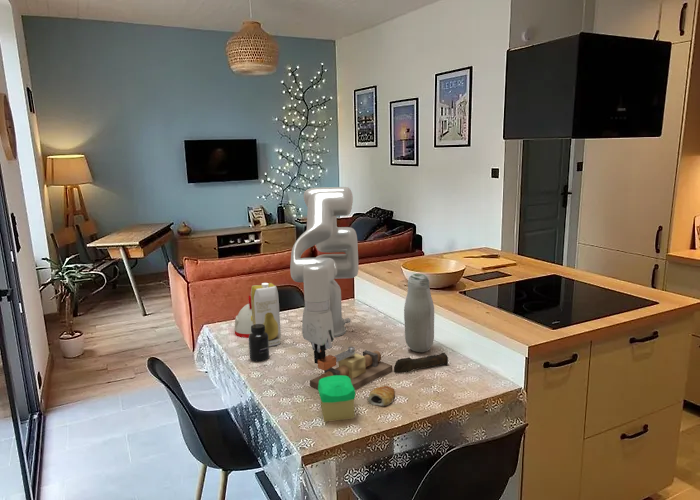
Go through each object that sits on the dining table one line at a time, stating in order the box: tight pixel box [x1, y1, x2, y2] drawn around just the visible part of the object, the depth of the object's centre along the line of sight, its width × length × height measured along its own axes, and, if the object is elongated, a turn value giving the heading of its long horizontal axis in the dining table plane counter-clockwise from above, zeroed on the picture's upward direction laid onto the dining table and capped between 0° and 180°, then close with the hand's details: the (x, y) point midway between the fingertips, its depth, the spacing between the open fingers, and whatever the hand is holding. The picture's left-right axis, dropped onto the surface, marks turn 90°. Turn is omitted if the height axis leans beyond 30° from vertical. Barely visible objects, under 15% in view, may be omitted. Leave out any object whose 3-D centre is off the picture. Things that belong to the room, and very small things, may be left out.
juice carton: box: [250, 282, 281, 347], centre depth 191 cm, size 9×8×24 cm
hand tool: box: [393, 352, 449, 374], centre depth 168 cm, size 19×4×5 cm, turn 107°
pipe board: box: [309, 349, 393, 391], centre depth 161 cm, size 25×12×7 cm, turn 135°
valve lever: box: [317, 346, 356, 371], centre depth 156 cm, size 14×3×3 cm, turn 136°
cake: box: [317, 375, 356, 422], centre depth 140 cm, size 10×11×10 cm
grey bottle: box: [403, 273, 435, 353], centre depth 180 cm, size 10×10×28 cm
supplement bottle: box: [248, 324, 270, 363], centre depth 179 cm, size 7×7×12 cm
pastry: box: [366, 385, 396, 407], centre depth 148 cm, size 9×7×4 cm
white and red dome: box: [234, 295, 253, 339], centre depth 206 cm, size 14×14×15 cm
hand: (320, 362), depth 156 cm, fingers closed
